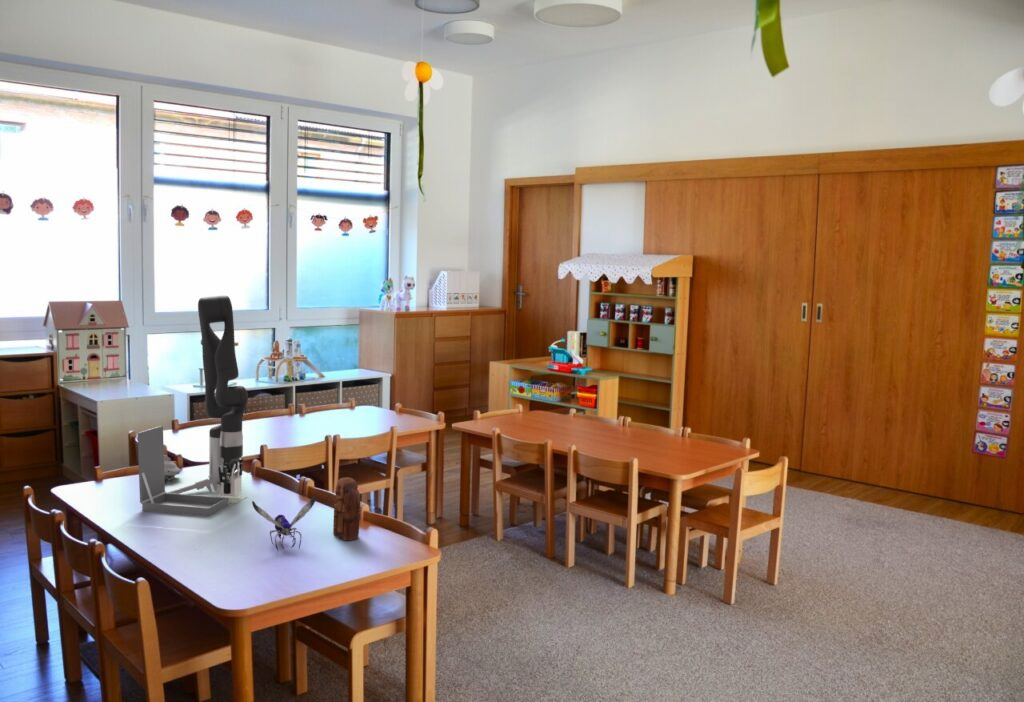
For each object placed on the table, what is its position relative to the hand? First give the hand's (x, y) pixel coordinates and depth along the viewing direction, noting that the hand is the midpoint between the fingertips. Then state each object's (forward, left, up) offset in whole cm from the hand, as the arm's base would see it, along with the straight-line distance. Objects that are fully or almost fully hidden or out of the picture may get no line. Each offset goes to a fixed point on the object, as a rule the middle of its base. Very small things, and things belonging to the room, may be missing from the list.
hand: (231, 491), depth 284 cm
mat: (0, 0, -3) cm, 3 cm away
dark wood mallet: (+26, +51, -3) cm, 57 cm away
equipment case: (+14, -9, -3) cm, 17 cm away
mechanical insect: (+38, +36, -3) cm, 52 cm away
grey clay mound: (-18, -36, -4) cm, 41 cm away
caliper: (-3, -18, -4) cm, 19 cm away
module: (0, 0, -1) cm, 1 cm away
